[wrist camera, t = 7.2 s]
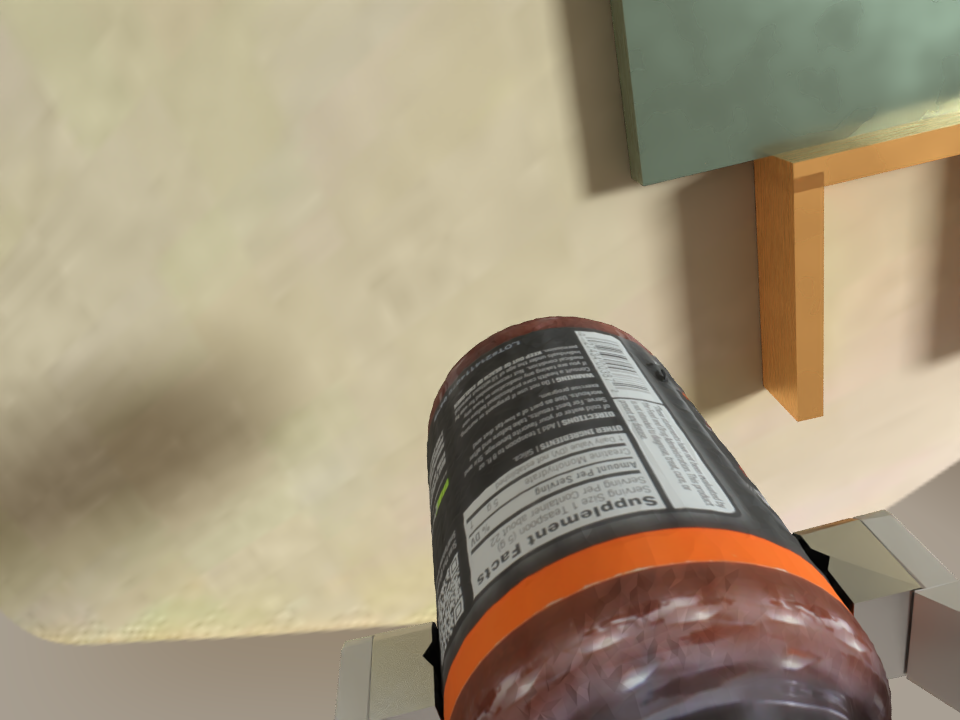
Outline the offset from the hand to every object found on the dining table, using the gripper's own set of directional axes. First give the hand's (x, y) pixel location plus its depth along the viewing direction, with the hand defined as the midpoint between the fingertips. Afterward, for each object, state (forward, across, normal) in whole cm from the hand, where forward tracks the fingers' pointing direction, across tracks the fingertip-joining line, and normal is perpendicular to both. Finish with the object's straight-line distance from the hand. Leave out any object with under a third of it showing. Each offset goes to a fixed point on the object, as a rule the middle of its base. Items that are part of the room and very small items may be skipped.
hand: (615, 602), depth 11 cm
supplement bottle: (+6, 0, 0) cm, 6 cm away
